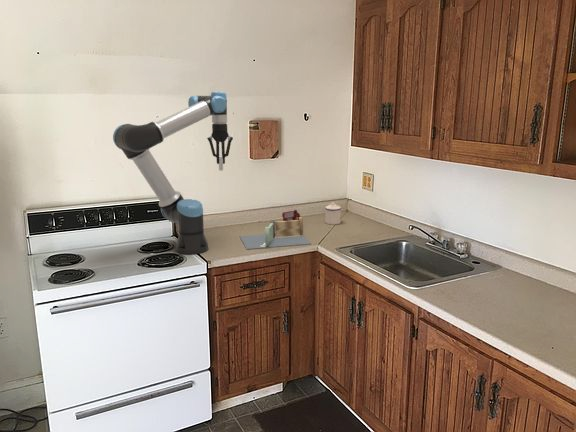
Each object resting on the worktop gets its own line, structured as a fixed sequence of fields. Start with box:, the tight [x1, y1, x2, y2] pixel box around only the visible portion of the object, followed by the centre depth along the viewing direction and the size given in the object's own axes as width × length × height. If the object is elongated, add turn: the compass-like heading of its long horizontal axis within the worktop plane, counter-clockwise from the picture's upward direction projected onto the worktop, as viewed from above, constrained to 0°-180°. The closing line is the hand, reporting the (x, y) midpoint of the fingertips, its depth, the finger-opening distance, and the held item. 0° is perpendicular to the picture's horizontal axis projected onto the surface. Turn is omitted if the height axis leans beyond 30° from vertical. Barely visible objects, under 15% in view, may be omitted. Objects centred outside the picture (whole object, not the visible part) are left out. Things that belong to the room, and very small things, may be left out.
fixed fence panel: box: [269, 216, 304, 238], centre depth 258 cm, size 17×2×10 cm, turn 104°
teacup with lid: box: [324, 202, 342, 226], centre depth 286 cm, size 12×9×12 cm
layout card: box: [239, 232, 312, 251], centre depth 254 cm, size 32×22×1 cm
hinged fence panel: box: [264, 222, 273, 246], centre depth 248 cm, size 14×2×9 cm, turn 172°
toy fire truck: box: [281, 209, 302, 221], centre depth 273 cm, size 7×12×10 cm, turn 127°
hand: (221, 170), depth 257 cm, fingers closed
